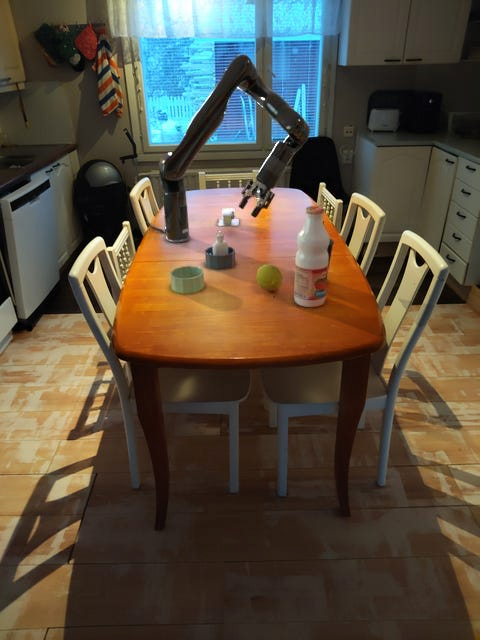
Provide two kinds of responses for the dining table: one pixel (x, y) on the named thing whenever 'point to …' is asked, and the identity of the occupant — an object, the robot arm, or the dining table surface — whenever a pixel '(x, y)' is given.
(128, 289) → the dining table surface
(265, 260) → the dining table surface
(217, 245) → the eye dropper bottle
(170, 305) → the dining table surface
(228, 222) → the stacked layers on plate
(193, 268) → the celadon cup
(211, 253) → the slate cup
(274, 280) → the lemon
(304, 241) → the fruit juice
